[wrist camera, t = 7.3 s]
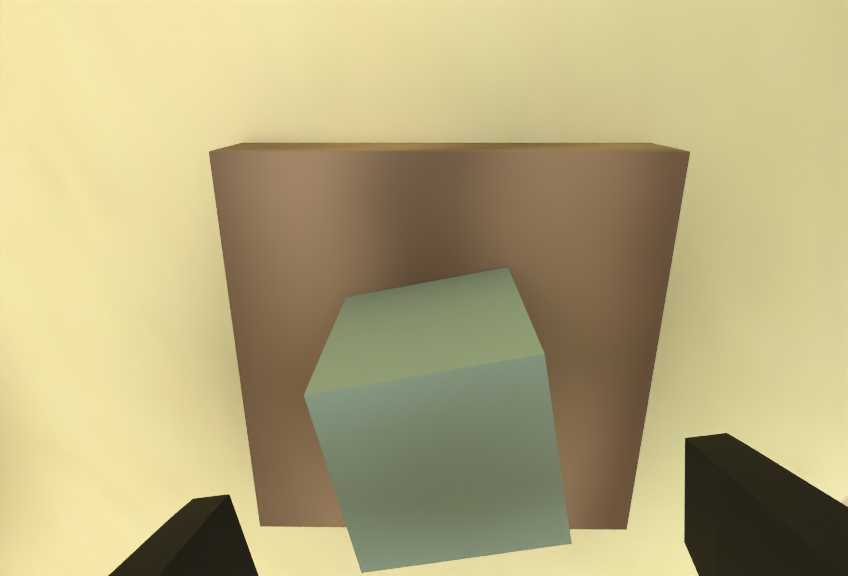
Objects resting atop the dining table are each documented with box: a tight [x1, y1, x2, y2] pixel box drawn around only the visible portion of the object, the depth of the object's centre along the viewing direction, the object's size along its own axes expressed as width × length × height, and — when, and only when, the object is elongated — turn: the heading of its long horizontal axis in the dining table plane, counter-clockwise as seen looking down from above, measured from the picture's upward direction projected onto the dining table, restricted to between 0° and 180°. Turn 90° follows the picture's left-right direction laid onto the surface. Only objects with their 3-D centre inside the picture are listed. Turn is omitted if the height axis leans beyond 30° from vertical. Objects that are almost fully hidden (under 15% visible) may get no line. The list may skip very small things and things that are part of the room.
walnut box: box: [209, 143, 690, 529], centre depth 17 cm, size 12×12×3 cm
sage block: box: [304, 267, 571, 573], centre depth 13 cm, size 4×4×5 cm
